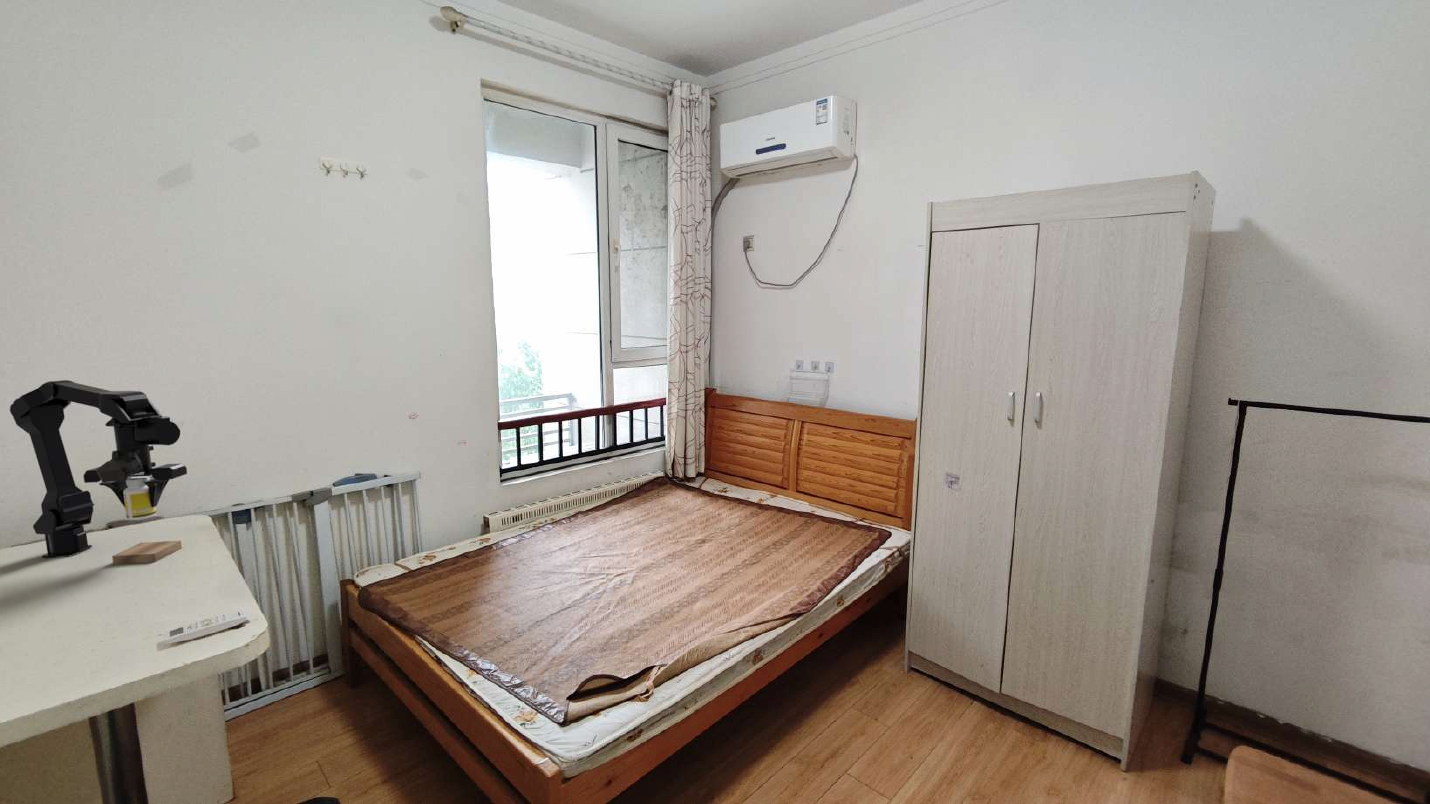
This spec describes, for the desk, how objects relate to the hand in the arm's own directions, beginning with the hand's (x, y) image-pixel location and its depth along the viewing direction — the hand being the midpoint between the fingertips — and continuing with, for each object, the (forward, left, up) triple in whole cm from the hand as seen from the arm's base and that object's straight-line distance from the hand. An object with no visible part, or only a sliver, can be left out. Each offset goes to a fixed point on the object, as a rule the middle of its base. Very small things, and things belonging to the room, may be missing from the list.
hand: (140, 507), depth 150 cm
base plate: (0, 0, -12) cm, 12 cm away
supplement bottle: (0, 0, -3) cm, 3 cm away
